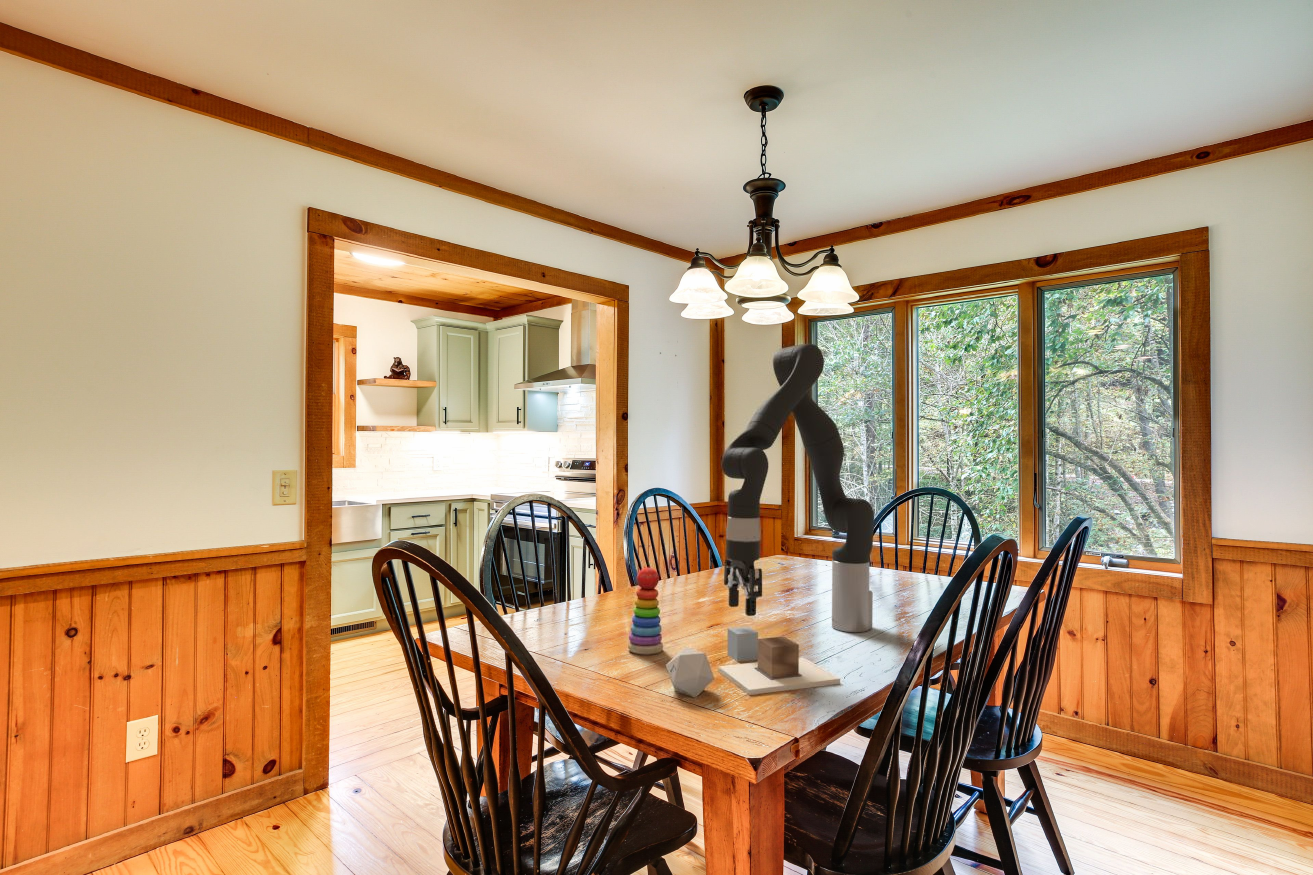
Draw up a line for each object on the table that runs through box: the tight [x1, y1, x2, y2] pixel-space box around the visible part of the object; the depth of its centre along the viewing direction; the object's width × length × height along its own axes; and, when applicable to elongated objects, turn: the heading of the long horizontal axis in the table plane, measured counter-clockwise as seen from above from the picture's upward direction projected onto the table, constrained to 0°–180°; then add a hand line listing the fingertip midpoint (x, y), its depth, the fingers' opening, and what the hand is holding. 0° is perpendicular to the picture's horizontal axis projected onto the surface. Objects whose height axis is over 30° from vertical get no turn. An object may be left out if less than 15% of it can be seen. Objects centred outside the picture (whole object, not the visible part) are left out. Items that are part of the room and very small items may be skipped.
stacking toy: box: [627, 567, 664, 656], centre depth 157 cm, size 8×8×19 cm
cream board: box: [717, 656, 841, 696], centre depth 140 cm, size 20×14×1 cm
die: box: [665, 647, 715, 698], centre depth 131 cm, size 8×9×10 cm
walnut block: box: [757, 636, 800, 678], centre depth 140 cm, size 6×6×6 cm
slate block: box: [727, 626, 759, 663], centre depth 153 cm, size 5×5×6 cm
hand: (741, 610), depth 153 cm, fingers open, 8 cm apart
